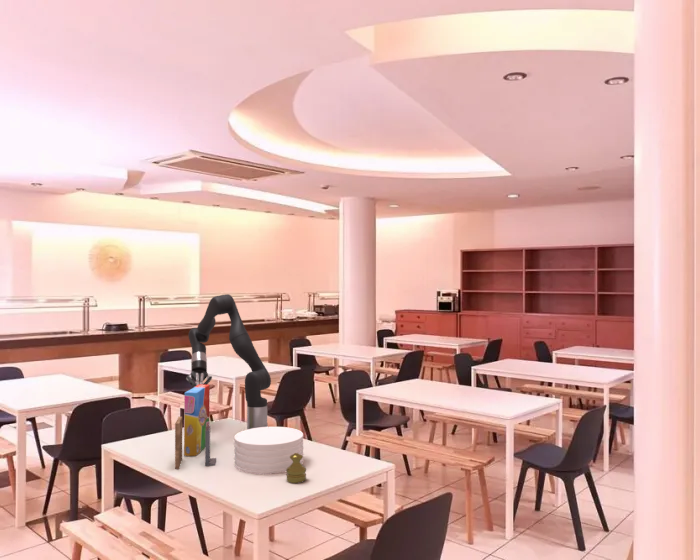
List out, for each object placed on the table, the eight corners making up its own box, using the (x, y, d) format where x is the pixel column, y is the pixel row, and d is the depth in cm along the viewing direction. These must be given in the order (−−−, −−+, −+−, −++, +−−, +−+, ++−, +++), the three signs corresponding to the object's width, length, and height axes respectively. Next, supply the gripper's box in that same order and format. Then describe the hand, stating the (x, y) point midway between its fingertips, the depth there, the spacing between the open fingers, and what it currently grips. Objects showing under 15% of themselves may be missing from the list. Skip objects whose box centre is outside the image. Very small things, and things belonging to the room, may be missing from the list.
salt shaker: (289, 484, 203) (289, 457, 203) (283, 478, 210) (283, 451, 210) (308, 482, 206) (308, 454, 206) (302, 475, 213) (302, 449, 213)
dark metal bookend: (216, 459, 234) (216, 425, 234) (215, 465, 225) (215, 430, 225) (206, 459, 233) (206, 426, 233) (205, 466, 224) (205, 431, 225)
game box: (196, 456, 237) (196, 392, 237) (183, 456, 237) (183, 392, 237) (209, 442, 258) (209, 384, 258) (197, 442, 258) (198, 384, 258)
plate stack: (230, 456, 237) (230, 429, 238) (294, 450, 247) (294, 424, 247) (239, 477, 211) (239, 447, 211) (310, 469, 220) (310, 440, 220)
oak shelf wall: (182, 459, 233) (182, 416, 233) (179, 468, 221) (179, 423, 221) (178, 459, 233) (178, 416, 233) (175, 469, 221) (175, 423, 221)
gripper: (186, 358, 277) (186, 390, 267) (213, 359, 282) (214, 390, 272) (184, 366, 282) (184, 397, 272) (211, 367, 287) (211, 397, 277)
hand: (199, 394), depth 272 cm, fingers closed
